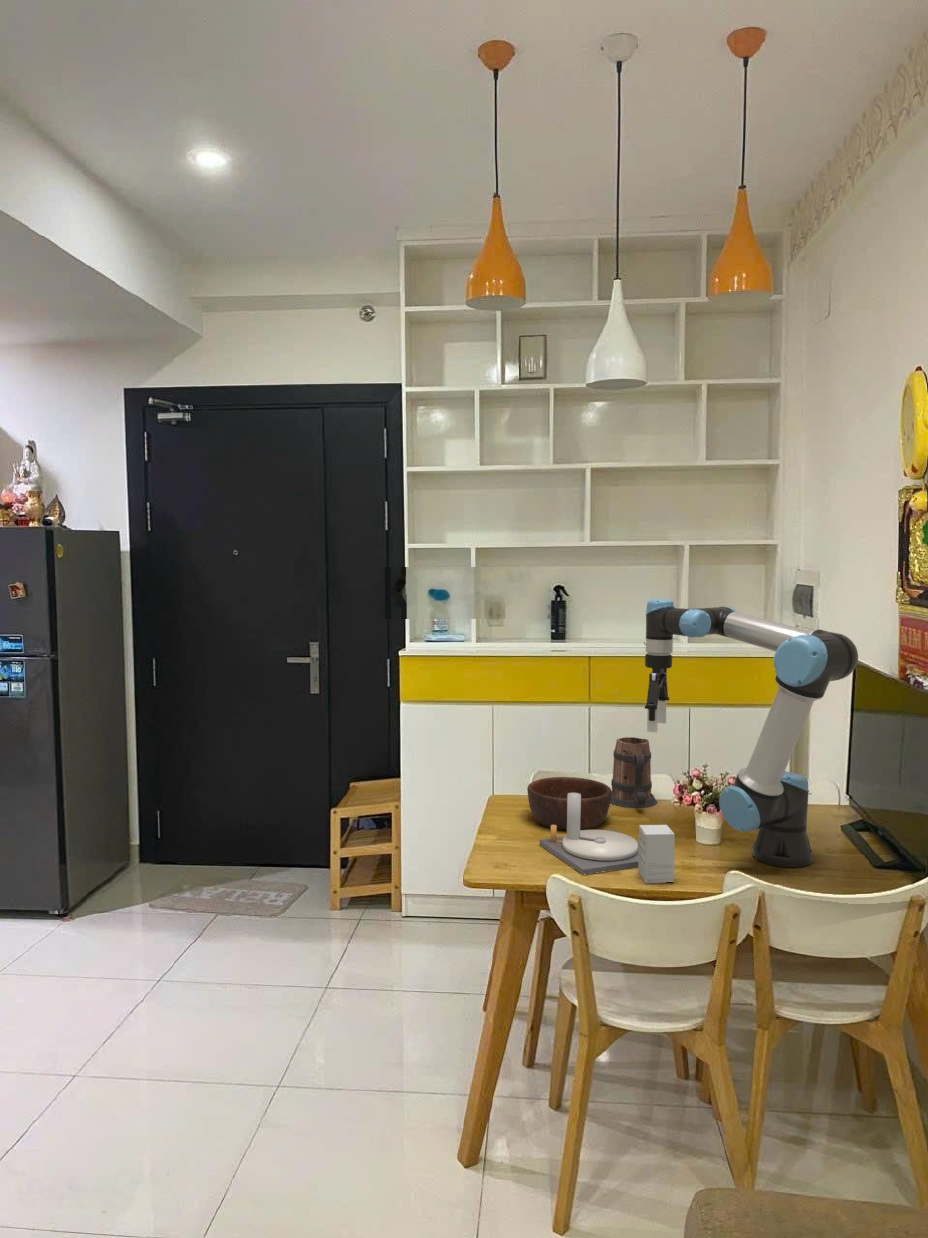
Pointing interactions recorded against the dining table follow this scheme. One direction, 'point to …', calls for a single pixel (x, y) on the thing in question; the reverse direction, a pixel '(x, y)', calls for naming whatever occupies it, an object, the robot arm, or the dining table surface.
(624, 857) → the grey round-based post piece
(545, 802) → the wooden bowl
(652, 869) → the supplement box
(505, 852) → the dining table surface
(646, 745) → the tankard
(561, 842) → the dial plate
